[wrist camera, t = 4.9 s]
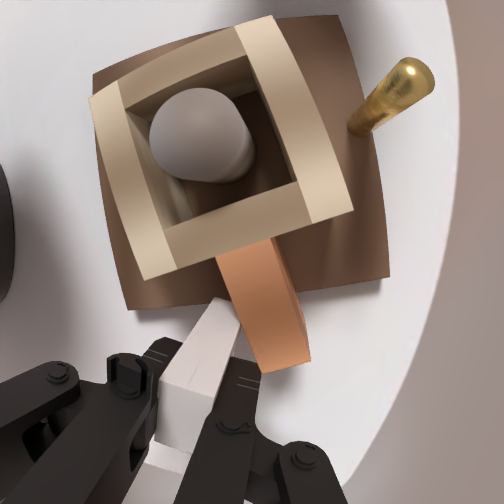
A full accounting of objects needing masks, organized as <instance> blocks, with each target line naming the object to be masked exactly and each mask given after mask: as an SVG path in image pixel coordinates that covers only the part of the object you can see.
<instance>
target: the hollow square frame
mask: <svg viewBox="0 0 504 504" xmlns="http://www.w3.org/2000/svg"><path fill="white" fill-rule="evenodd" d="M193 88H207V89H212V90H215V91H218V92H220V93H222V94H223V95H225V96H226V97H227V98H228V99H233V98H236V97H238V96H241V95H244V94H247V93H250V92H252V91H255V90H257V92H258V94H259V96H260V99H261V101H262V104H263V106H264V109H265V111H266V114H267V116H268V119H269V121H270V124H271V126H272V129H273V131H274V134H275V137H276V139H277V142H278V144H279V147H280V150H281V152H282V155H283V158H284V160H285V163H286V166H287V169H288V171H289V174H290V177H291V180H292V182H293V183H290V184H287V185H284V186H281V187H278V188H275V189H272V190H269V191H267V192H264V193H261V194H258V195H255V196H252V197H249V198H247V199H244V200H241V201H238V202H236V203H233V204H230V205H227V206H225V207H222V208H219V209H217V210H214V211H211V212H209V213H206V214H203V215H201V216H198V217H195V218H194V217H193V214H192V212H191V209H190V206H189V203H188V200H187V198H186V195H185V192H184V189H183V186H182V183H181V180H180V178H177V177H175V176H172V175H170V174H169V173H167V172H166V171H164V170H163V169H162V168H161V167H160V166H159V165H158V163H157V162H156V160H155V159H154V157H153V154H152V152H151V148H150V140H149V136H150V128H151V125H152V122H153V119H154V117H155V115H156V113H157V112H158V110H159V109H160V108H161V106H162V105H163V104H164V103H165V102H166V101H167V100H169V99H170V98H171V97H173V96H174V95H176V94H178V93H180V92H182V91H185V90H188V89H193ZM88 99H89V104H90V109H91V113H92V118H93V122H94V127H95V131H96V135H97V139H98V143H99V147H100V151H101V155H102V158H103V162H104V165H105V169H106V173H107V176H108V179H109V183H110V186H111V189H112V193H113V196H114V199H115V202H116V205H117V208H118V211H119V214H120V217H121V220H122V223H123V226H124V229H125V232H126V234H127V237H128V240H129V243H130V245H131V248H132V251H133V253H134V256H135V259H136V261H137V264H138V266H139V269H140V271H141V274H142V276H143V279H144V281H145V280H148V279H151V278H154V277H157V276H160V275H162V274H165V273H168V272H171V271H174V270H177V269H180V268H183V267H186V266H189V265H192V264H195V263H198V262H201V261H203V260H206V259H209V258H212V257H215V258H216V261H217V263H218V266H219V269H220V271H221V274H222V276H223V279H224V282H225V284H226V287H227V289H228V292H229V294H230V297H231V299H232V302H233V305H234V307H235V310H236V312H237V315H238V317H239V320H240V322H241V325H242V327H243V330H244V332H245V334H246V337H247V339H248V342H249V344H250V347H251V349H252V351H253V354H254V356H255V359H256V361H257V363H258V366H259V368H260V370H261V372H262V374H264V373H268V372H272V371H276V370H280V369H284V368H288V367H292V366H296V365H299V364H303V363H306V362H310V361H311V357H310V350H309V343H308V337H307V330H306V324H305V318H304V315H303V312H302V309H301V306H300V303H299V300H298V297H297V294H296V291H295V288H294V285H293V282H292V279H291V276H290V273H289V270H288V267H287V264H286V261H285V258H284V255H283V252H282V249H281V246H280V243H279V240H278V237H277V236H278V235H281V234H284V233H287V232H290V231H293V230H296V229H299V228H302V227H305V226H308V225H311V224H314V223H317V222H320V221H323V220H326V219H329V218H332V217H335V216H338V215H341V214H344V213H347V212H350V211H353V210H354V209H353V205H352V202H351V199H350V196H349V193H348V190H347V187H346V184H345V181H344V178H343V175H342V172H341V169H340V166H339V163H338V161H337V158H336V155H335V152H334V150H333V147H332V144H331V142H330V139H329V136H328V134H327V131H326V129H325V126H324V124H323V121H322V119H321V116H320V114H319V111H318V109H317V107H316V104H315V102H314V100H313V97H312V95H311V93H310V91H309V88H308V86H307V84H306V82H305V79H304V77H303V75H302V73H301V71H300V69H299V67H298V65H297V63H296V60H295V58H294V56H293V54H292V52H291V50H290V48H289V46H288V44H287V42H286V41H285V39H284V37H283V35H282V33H281V31H280V29H279V27H278V25H277V24H276V22H275V20H274V18H273V16H272V15H269V16H266V17H262V18H258V19H255V20H252V21H248V22H245V23H242V24H239V25H236V26H233V27H230V28H227V29H224V30H221V31H218V32H216V33H213V34H210V35H208V36H205V37H203V38H200V39H198V40H195V41H193V42H191V43H188V44H186V45H184V46H181V47H179V48H177V49H175V50H173V51H171V52H168V53H166V54H164V55H162V56H160V57H158V58H156V59H154V60H152V61H150V62H148V63H146V64H145V65H143V66H141V67H139V68H137V69H135V70H134V71H132V72H130V73H128V74H126V75H125V76H123V77H121V78H120V79H118V80H116V81H115V82H113V83H111V84H110V85H108V86H107V87H105V88H103V89H102V90H100V91H99V92H97V93H96V94H94V95H93V96H91V97H90V98H88Z"/></svg>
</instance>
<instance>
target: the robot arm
mask: <svg viewBox="0 0 504 504" xmlns="http://www.w3.org/2000/svg"><path fill="white" fill-rule="evenodd" d="M13 260H14V230H13V217H12V208H11V202H10V196H9V191H8V186H7V182H6V179H5V175H4V172H3V170H2V167H1V165H0V302H1V301H2V300H3V299H4V297H5V296H6V294H7V291H8V289H9V285H10V282H11V277H12V270H13ZM241 326H242V325H241V322H240V320H239V317H238V315H237V312H236V310H235V307H234V305H233V302H231V301H227V300H224V299H220V298H217V297H214V298H213V300H212V301H211V303H210V304H209V306H208V307H207V309H206V310H205V312H204V313H203V315H202V316H201V318H200V319H199V321H198V322H197V324H196V325H195V327H194V328H193V329H192V331H191V332H190V334H189V335H188V337H187V338H186V340H185V341H184V343H182V342H179V341H176V340H173V339H170V338H167V337H163V338H161V339H159V340H156V341H154V343H153V344H152V345H151V346H150V347H149V348H148V350H147V351H146V352H145V353H144V354H143V356H139V355H135V354H131V353H119V354H114V355H112V356H110V357H108V358H107V382H106V384H99V383H93V382H89V381H84V380H80V379H79V375H78V372H77V370H76V369H75V368H74V367H73V366H71V365H70V364H68V363H65V362H61V361H51V362H47V363H44V364H42V365H40V366H37V367H35V368H33V369H31V370H29V371H27V372H24V373H22V374H20V375H18V376H16V377H13V378H11V379H9V380H7V381H5V382H2V383H0V501H1V500H2V499H4V498H5V500H4V501H3V502H2V503H1V504H121V503H122V501H123V499H124V498H125V496H126V494H127V492H128V490H129V488H130V486H131V484H132V483H133V481H134V479H135V477H136V475H137V473H138V471H139V469H140V467H141V465H142V464H143V462H144V460H145V458H146V456H147V454H148V451H149V442H150V440H151V438H152V436H153V434H154V433H155V436H154V441H156V442H159V443H162V444H164V445H167V446H170V447H173V448H176V449H179V450H182V451H185V452H188V453H191V454H192V456H191V459H190V461H189V464H188V467H187V469H186V472H185V474H184V477H183V480H182V482H181V485H180V488H179V490H178V493H177V495H176V498H175V500H174V503H173V504H243V503H244V499H245V500H247V501H249V502H251V503H253V504H348V503H347V500H346V498H345V496H344V494H343V491H342V489H341V486H340V484H339V482H338V479H337V477H336V474H335V472H334V470H333V467H332V465H331V463H330V460H329V458H328V456H327V455H326V453H325V452H324V451H323V450H322V449H321V448H319V447H318V446H317V445H314V444H312V443H309V442H304V441H295V442H290V443H288V444H286V445H285V446H282V445H280V444H277V443H275V442H273V441H271V440H269V439H267V438H266V437H265V436H263V435H262V434H261V433H260V432H259V430H258V429H257V427H256V425H255V413H256V406H257V400H258V393H259V387H260V380H261V373H262V372H261V370H260V368H259V366H258V364H257V363H254V362H250V361H247V360H243V359H239V358H235V357H233V356H234V352H235V349H236V345H237V341H238V337H239V333H240V329H241Z"/></svg>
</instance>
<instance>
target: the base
mask: <svg viewBox="0 0 504 504" xmlns="http://www.w3.org/2000/svg"><path fill="white" fill-rule="evenodd" d="M275 22H276V24H277V25H278V27H279V29H280V31H281V33H282V35H283V37H284V39H285V41H286V42H287V44H288V46H289V48H290V50H291V52H292V54H293V56H294V58H295V60H296V63H297V65H298V67H299V69H300V71H301V73H302V75H303V77H304V79H305V82H306V84H307V86H308V88H309V91H310V93H311V95H312V97H313V100H314V102H315V104H316V107H317V109H318V111H319V114H320V116H321V119H322V121H323V124H324V126H325V129H326V131H327V134H328V136H329V139H330V142H331V144H332V147H333V150H334V152H335V155H336V158H337V161H338V163H339V166H340V169H341V172H342V175H343V178H344V181H345V184H346V187H347V190H348V193H349V196H350V199H351V202H352V205H353V209H354V210H353V211H350V212H347V213H344V214H341V215H338V216H335V217H332V218H329V219H326V220H323V221H320V222H317V223H314V224H311V225H308V226H305V227H302V228H299V229H296V230H293V231H290V232H287V233H284V234H281V235H278V236H277V237H278V240H279V243H280V246H281V249H282V252H283V255H284V258H285V261H286V264H287V267H288V270H289V273H290V276H291V279H292V282H293V285H294V288H295V291H296V292H302V291H309V290H315V289H322V288H328V287H335V286H341V285H347V284H353V283H359V282H365V281H371V280H377V279H382V278H388V277H390V267H389V251H388V238H387V227H386V217H385V208H384V200H383V193H382V185H381V179H380V172H379V166H378V160H377V155H376V149H375V144H374V139H373V134H372V132H371V133H369V134H368V135H366V136H364V137H356V136H354V135H352V134H351V133H350V132H349V130H348V128H347V120H348V118H349V117H350V116H351V115H352V114H353V113H354V111H355V110H356V109H357V108H358V107H359V106H360V105H361V104H362V103H363V101H364V100H365V99H364V95H363V92H362V88H361V84H360V81H359V77H358V74H357V70H356V67H355V64H354V60H353V57H352V54H351V51H350V48H349V45H348V42H347V39H346V36H345V33H344V30H343V28H342V25H341V22H340V20H339V17H338V15H322V16H305V17H293V18H283V19H275ZM232 27H233V26H232ZM228 28H230V27H228ZM224 29H227V28H223V29H219V30H214V31H210V32H206V33H202V34H199V35H195V36H191V37H188V38H184V39H181V40H178V41H175V42H171V43H168V44H165V45H162V46H159V47H157V48H154V49H151V50H148V51H146V52H143V53H140V54H138V55H135V56H133V57H130V58H128V59H125V60H123V61H121V62H118V63H116V64H114V65H112V66H109V67H107V68H105V69H103V70H101V71H99V72H97V73H95V74H93V95H94V94H96V93H97V92H99V91H100V90H102V89H103V88H105V87H107V86H108V85H110V84H111V83H113V82H115V81H116V80H118V79H120V78H121V77H123V76H125V75H126V74H128V73H130V72H132V71H134V70H135V69H137V68H139V67H141V66H143V65H145V64H146V63H148V62H150V61H152V60H154V59H156V58H158V57H160V56H162V55H164V54H166V53H168V52H171V51H173V50H175V49H177V48H179V47H181V46H184V45H186V44H188V43H191V42H193V41H195V40H198V39H200V38H203V37H205V36H208V35H210V34H213V33H216V32H218V31H221V30H224ZM94 128H95V127H94ZM149 140H150V148H151V152H152V154H153V157H154V159H155V160H156V162H157V163H158V165H159V166H160V167H161V168H162V169H163V170H164V171H166V172H167V173H169V174H170V175H172V176H175V177H177V178H180V180H181V183H182V186H183V189H184V192H185V195H186V198H187V200H188V203H189V206H190V209H191V212H192V214H193V217H194V218H195V217H198V216H201V215H203V214H206V213H209V212H211V211H214V210H217V209H219V208H222V207H225V206H227V205H230V204H233V203H236V202H238V201H241V200H244V199H247V198H249V197H252V196H255V195H258V194H261V193H264V192H267V191H269V190H272V189H275V188H278V187H281V186H284V185H287V184H290V183H293V182H292V180H291V177H290V174H289V171H288V169H287V166H286V163H285V160H284V158H283V155H282V152H281V150H280V147H279V144H278V142H277V139H276V137H275V134H274V131H273V129H272V126H271V124H270V121H269V119H268V116H267V114H266V111H265V109H264V106H263V104H262V101H261V99H260V96H259V94H258V92H257V90H255V91H252V92H250V93H247V94H244V95H241V96H238V97H236V98H233V99H228V98H227V97H226V96H225V95H223V94H222V93H220V92H218V91H215V90H212V89H207V88H193V89H188V90H185V91H182V92H180V93H178V94H176V95H174V96H173V97H171V98H170V99H169V100H167V101H166V102H165V103H164V104H163V105H162V106H161V108H160V109H159V110H158V112H157V113H156V115H155V117H154V119H153V122H152V125H151V128H150V136H149ZM95 141H96V152H97V161H98V170H99V177H100V185H101V192H102V198H103V204H104V210H105V216H106V221H107V227H108V232H109V237H110V242H111V246H112V251H113V255H114V260H115V264H116V268H117V272H118V276H119V280H120V284H121V288H122V292H123V295H124V299H125V302H126V306H127V309H128V310H141V309H153V308H165V307H176V306H186V305H196V304H206V303H211V301H212V300H213V298H214V297H217V298H220V299H224V300H227V301H232V299H231V297H230V294H229V292H228V289H227V287H226V284H225V282H224V279H223V276H222V274H221V271H220V269H219V266H218V263H217V261H216V258H215V257H212V258H209V259H206V260H203V261H201V262H198V263H195V264H192V265H189V266H186V267H183V268H180V269H177V270H174V271H171V272H168V273H165V274H162V275H160V276H157V277H154V278H151V279H148V280H145V281H144V279H143V276H142V274H141V271H140V269H139V266H138V264H137V261H136V259H135V256H134V253H133V251H132V248H131V245H130V243H129V240H128V237H127V234H126V232H125V229H124V226H123V223H122V220H121V217H120V214H119V211H118V208H117V205H116V202H115V199H114V196H113V193H112V189H111V186H110V183H109V179H108V176H107V173H106V169H105V165H104V162H103V158H102V155H101V151H100V147H99V143H98V139H97V135H96V131H95Z"/></svg>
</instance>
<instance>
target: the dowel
mask: <svg viewBox="0 0 504 504" xmlns="http://www.w3.org/2000/svg"><path fill="white" fill-rule="evenodd" d="M434 86H435V80H434V76H433V74H432V72H431V70H430V69H429V68H428V67H427V65H425V64H424V63H423V62H422V61H420V60H418V59H416V58H411V57H407V58H403V59H402V60H400V61H399V63H398V64H397V65H396V66H395V67H394V68H393V69H392V70H391V71H390V72H389V74H388V75H387V76H386V77H385V78H384V79H383V80H382V81H381V82H380V84H379V85H378V86H377V87H376V88H375V89H374V90H373V91H372V92H371V94H370V95H369V96H368V97H367V98H366V99H365V100H364V101H363V103H362V104H361V105H360V106H359V107H358V108H357V109H356V110H355V111H354V113H353V114H352V115H351V116H350V117H349V118H348V120H347V128H348V130H349V132H350V133H351V134H352V135H354V136H356V137H364V136H366V135H368V134H369V133H371V132H372V131H374V130H375V129H377V128H378V127H380V126H381V125H383V124H384V123H386V122H387V121H389V120H390V119H392V118H393V117H395V116H396V115H398V114H399V113H401V112H402V111H404V110H405V109H407V108H408V107H410V106H411V105H413V104H415V103H416V102H418V101H419V100H421V99H422V98H424V97H425V96H427V95H428V94H430V93H431V92H432V91H433V89H434Z"/></svg>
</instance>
